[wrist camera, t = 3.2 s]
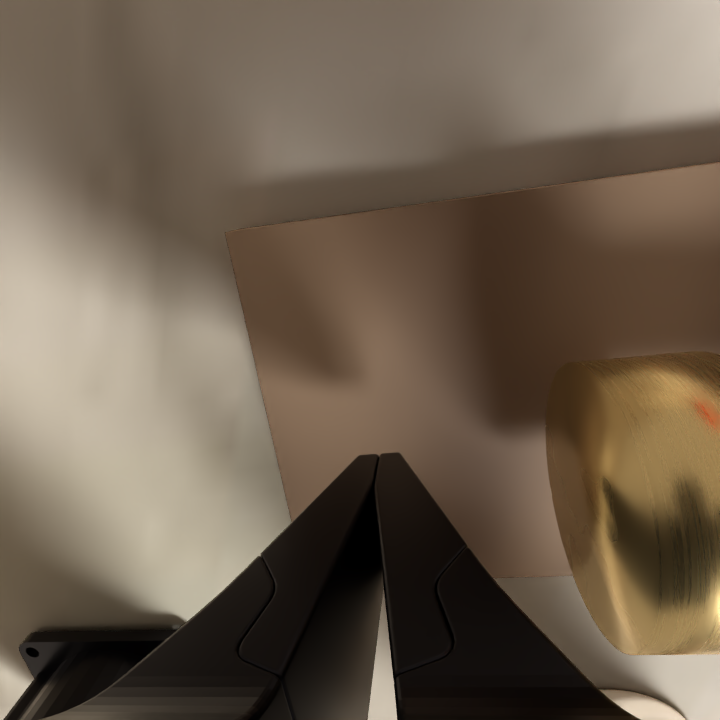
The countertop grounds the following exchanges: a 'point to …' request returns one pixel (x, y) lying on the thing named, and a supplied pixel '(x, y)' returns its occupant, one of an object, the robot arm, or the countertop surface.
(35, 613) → the countertop surface
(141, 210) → the countertop surface
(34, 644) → the robot arm
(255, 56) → the countertop surface
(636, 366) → the shaft
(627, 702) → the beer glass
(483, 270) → the base board
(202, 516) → the countertop surface
